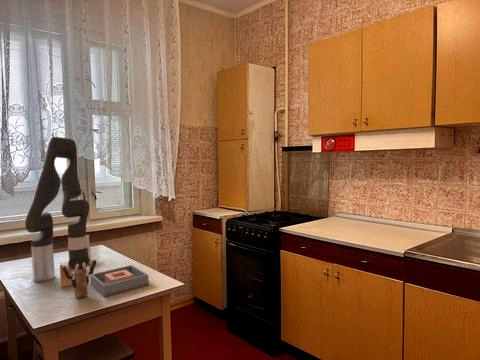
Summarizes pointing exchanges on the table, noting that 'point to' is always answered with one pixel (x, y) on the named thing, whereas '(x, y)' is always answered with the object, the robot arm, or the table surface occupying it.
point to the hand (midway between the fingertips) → (80, 285)
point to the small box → (63, 278)
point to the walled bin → (118, 280)
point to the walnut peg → (81, 283)
